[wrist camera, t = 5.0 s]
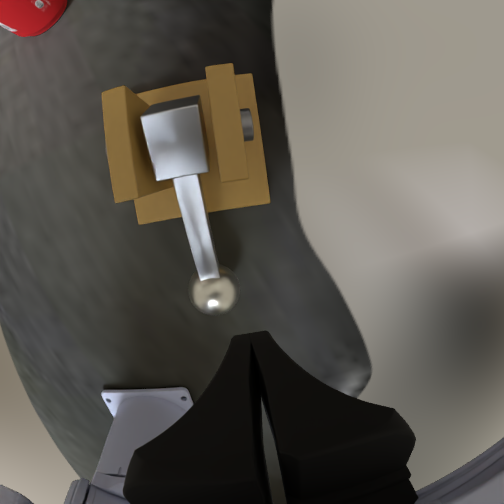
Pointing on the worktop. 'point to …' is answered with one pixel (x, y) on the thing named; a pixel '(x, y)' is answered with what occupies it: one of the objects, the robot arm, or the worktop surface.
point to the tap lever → (190, 194)
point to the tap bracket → (219, 140)
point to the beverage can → (30, 15)
